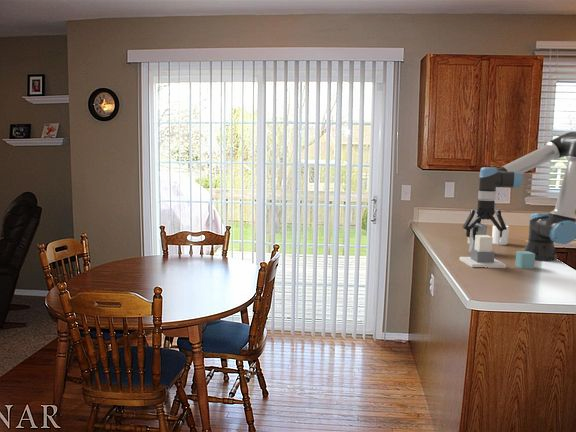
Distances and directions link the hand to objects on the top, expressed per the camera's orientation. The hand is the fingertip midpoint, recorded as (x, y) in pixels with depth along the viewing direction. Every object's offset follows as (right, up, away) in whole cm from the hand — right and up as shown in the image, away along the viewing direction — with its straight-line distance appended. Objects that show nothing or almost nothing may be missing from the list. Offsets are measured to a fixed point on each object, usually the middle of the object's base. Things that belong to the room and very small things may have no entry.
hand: (483, 243), depth 235 cm
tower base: (0, -10, +1) cm, 10 cm away
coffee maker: (+7, -6, +28) cm, 30 cm away
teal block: (+18, -11, -4) cm, 21 cm away
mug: (+30, -3, +51) cm, 60 cm away
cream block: (0, -3, +1) cm, 3 cm away
